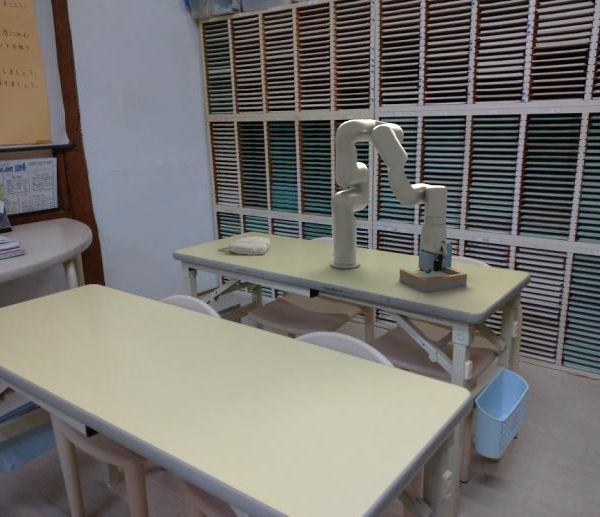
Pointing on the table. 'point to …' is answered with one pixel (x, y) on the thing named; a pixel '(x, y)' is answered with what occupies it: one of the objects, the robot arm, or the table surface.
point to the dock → (434, 279)
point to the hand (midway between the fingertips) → (432, 268)
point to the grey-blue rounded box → (430, 261)
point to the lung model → (249, 246)
